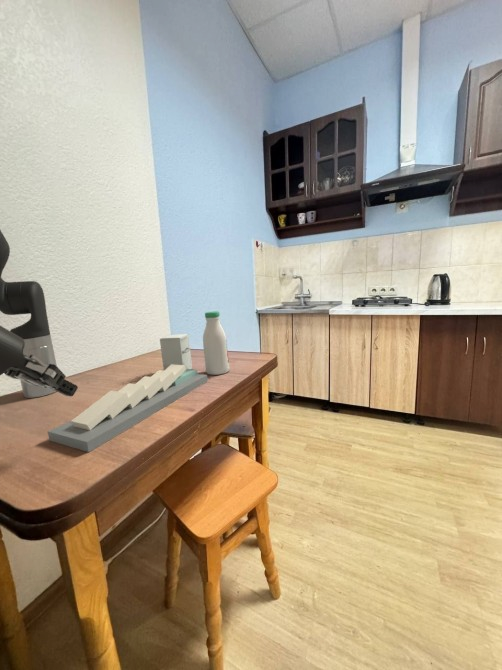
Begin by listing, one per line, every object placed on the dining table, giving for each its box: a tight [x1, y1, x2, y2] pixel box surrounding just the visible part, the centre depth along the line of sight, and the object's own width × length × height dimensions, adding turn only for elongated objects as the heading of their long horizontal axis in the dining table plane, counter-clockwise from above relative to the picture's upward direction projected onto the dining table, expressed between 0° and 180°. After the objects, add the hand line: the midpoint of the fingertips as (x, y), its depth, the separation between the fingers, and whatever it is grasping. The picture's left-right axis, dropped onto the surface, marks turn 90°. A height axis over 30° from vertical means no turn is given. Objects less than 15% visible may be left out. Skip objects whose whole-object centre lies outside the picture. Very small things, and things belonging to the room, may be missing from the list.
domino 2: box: [105, 383, 145, 419], centre depth 63 cm, size 1×5×10 cm
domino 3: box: [127, 375, 161, 408], centre depth 68 cm, size 1×5×10 cm
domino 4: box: [143, 369, 174, 399], centre depth 72 cm, size 1×5×10 cm
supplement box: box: [159, 333, 193, 371], centre depth 95 cm, size 7×7×13 cm
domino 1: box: [70, 390, 128, 430], centre depth 59 cm, size 1×5×10 cm
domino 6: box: [171, 368, 198, 386], centre depth 81 cm, size 1×5×10 cm
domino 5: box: [159, 364, 186, 391], centre depth 77 cm, size 1×5×10 cm
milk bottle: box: [202, 311, 230, 376], centre depth 91 cm, size 8×8×20 cm
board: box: [47, 373, 209, 453], centre depth 69 cm, size 12×38×2 cm, turn 155°
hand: (72, 391), depth 53 cm, fingers closed
